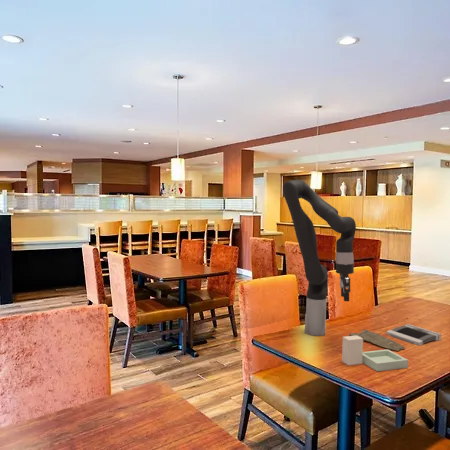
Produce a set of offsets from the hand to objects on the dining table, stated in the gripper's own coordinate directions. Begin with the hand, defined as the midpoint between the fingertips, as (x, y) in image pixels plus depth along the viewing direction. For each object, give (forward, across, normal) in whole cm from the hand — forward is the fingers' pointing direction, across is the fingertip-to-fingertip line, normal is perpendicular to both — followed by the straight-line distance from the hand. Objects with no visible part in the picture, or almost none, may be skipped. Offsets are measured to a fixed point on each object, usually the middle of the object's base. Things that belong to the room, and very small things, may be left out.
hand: (345, 298), depth 175 cm
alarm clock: (+23, -17, +33) cm, 44 cm away
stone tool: (+22, -7, +15) cm, 28 cm away
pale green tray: (+21, +19, +11) cm, 30 cm away
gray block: (+21, +20, 0) cm, 29 cm away
